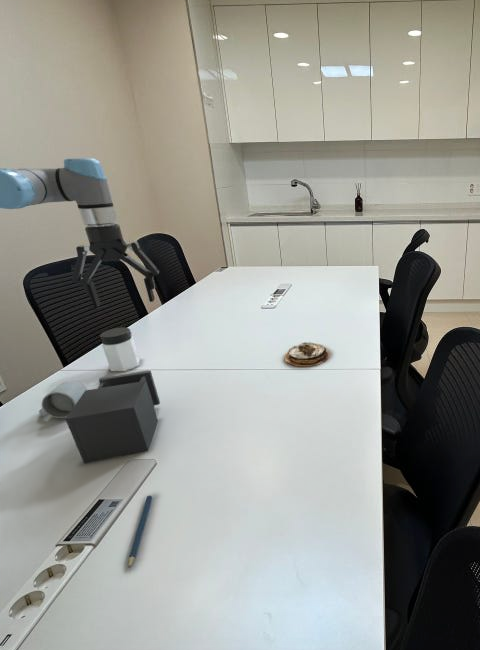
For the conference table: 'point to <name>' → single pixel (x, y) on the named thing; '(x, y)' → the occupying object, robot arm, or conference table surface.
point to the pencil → (139, 530)
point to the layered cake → (307, 354)
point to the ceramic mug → (62, 399)
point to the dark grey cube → (113, 421)
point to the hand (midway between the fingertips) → (125, 303)
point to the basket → (132, 378)
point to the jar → (120, 349)
